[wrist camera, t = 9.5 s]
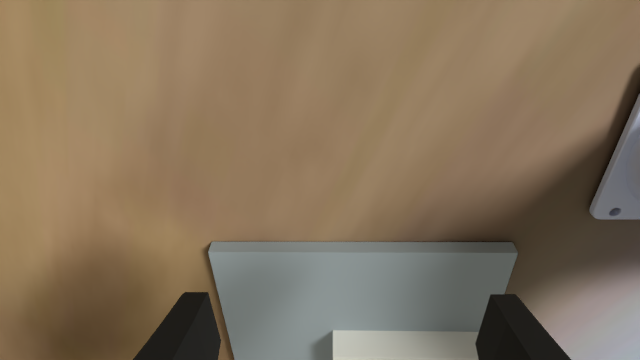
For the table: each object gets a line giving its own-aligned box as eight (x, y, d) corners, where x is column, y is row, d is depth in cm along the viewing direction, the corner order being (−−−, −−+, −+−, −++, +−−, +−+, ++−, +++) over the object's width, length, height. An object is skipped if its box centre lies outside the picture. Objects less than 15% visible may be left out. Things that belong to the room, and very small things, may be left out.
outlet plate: (512, 242, 22) (532, 279, 19) (461, 401, 30) (471, 439, 28) (211, 241, 22) (198, 278, 20) (248, 397, 31) (241, 434, 29)
